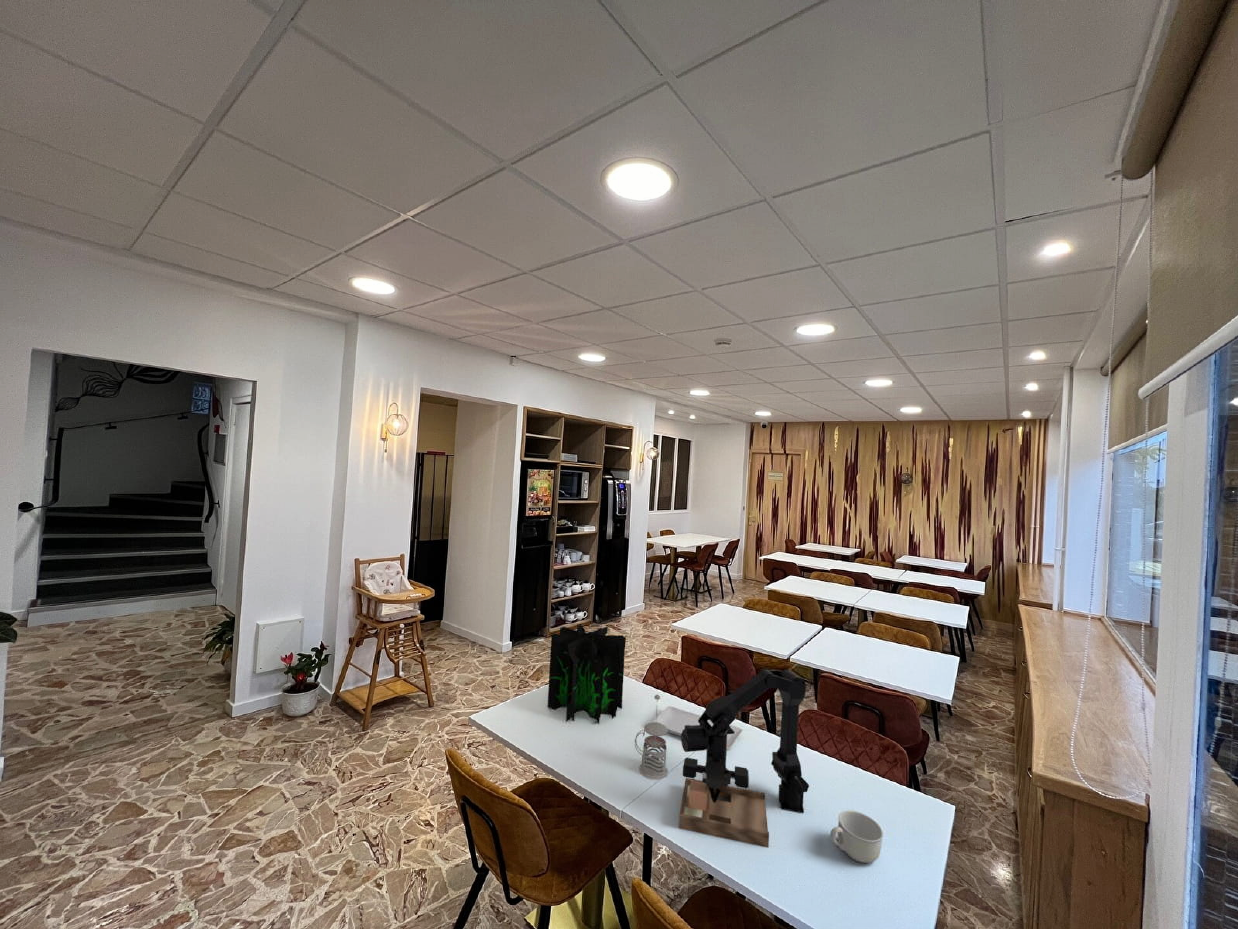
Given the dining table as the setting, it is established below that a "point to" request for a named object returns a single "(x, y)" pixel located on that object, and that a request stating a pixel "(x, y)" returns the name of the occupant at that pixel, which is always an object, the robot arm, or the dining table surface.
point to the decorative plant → (586, 672)
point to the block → (698, 795)
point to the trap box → (728, 815)
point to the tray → (689, 723)
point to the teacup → (858, 836)
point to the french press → (652, 764)
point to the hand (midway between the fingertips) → (714, 801)
